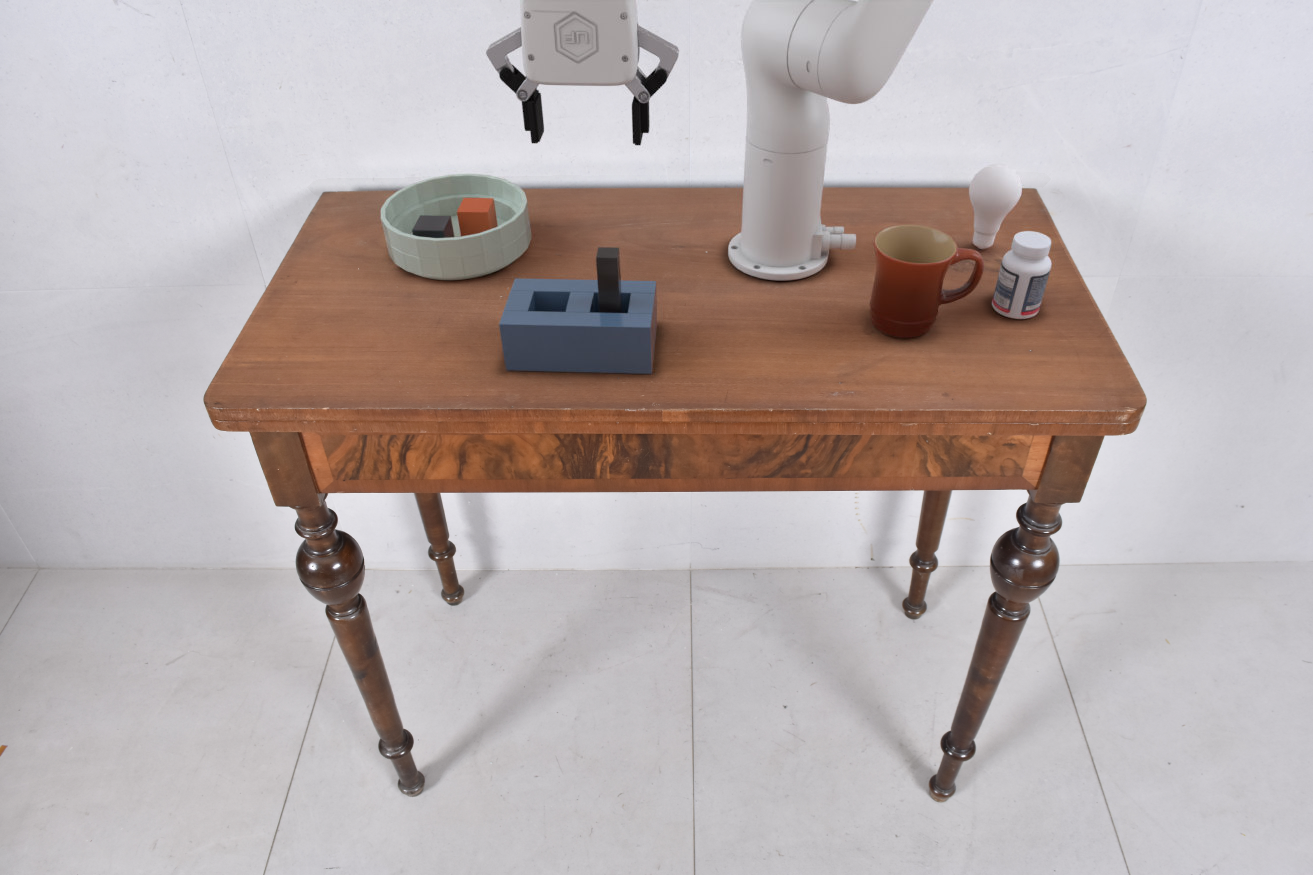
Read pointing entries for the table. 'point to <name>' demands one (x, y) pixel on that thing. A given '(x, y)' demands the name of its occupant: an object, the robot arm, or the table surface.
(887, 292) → the mug
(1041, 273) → the pill bottle
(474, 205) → the block
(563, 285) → the holder
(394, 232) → the bowl
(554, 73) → the robot arm
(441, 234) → the block
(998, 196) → the lightbulb
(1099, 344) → the table surface
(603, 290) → the rectangular bar
